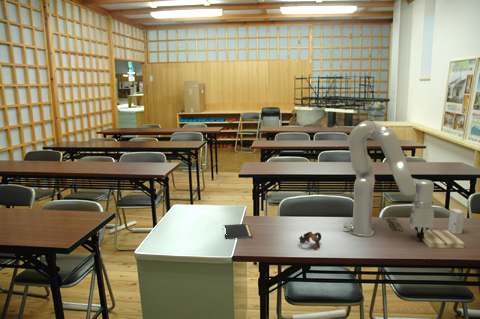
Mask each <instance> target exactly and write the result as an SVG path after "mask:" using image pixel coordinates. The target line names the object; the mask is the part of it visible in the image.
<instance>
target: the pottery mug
mask: <svg viewBox="0 0 480 319" xmlns="http://www.w3.org/2000/svg"><path fill="white" fill-rule="evenodd" d="M298 239H299V244H303V245H304V244H305V243H311V240H312V241H313V242H314V243H315V245H313V249H314V250H315V251H317V250H319V249H320V248H321V246H320V241H321V239H322V234H321V232H319V231H318V232H315V233H313V232H312V231H308V232H306V233H304V234H303V235H300V236H299V238H298ZM310 239H311V240H310Z"/></svg>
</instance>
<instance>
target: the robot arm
mask: <svg viewBox="0 0 480 319" xmlns="http://www.w3.org/2000/svg"><path fill="white" fill-rule="evenodd" d="M367 139H372V140H373V141H376V142H378V143H379V146H380V148H381V151H382V152H383V154H384V157H385V159H386V161H387V164H388V167H389V169H390V171H391V174H392V176H393V178H394V181H395V183H396V185H397V187H398V191H399V192H400V193H401V195H403V197H404V196H405V197H413V196H414V195H415V196H414V197H415V199H414V201H412V203H411V204H412V209H411V212H410V218H409V223H410V225H409V228H411V229H413V230H416V231H417V234H416V233H415V237H416V238H417V240H419V241H423V238H424V233H425V231H426V230H432V229H433V227H434V225H435V212H434V208H433V207H432V206H433V198H434V187H435V185H434V184H435V183H434V182H433V181H432V180H429V179H419V178H418V179H417V178H414V177H412V174H411V171H410V170H409V167H408V161H407V158H406V155H405V153H404V151H403V149H402V147H401V144H400V142H399V140H398V138H397V133H396V132H395V131H394V130H393V129H392V128H388V127H387V126H383V125H381V124H379V123H377V122H375V121H372V120H367V119H366V120H364V121H362V122H360V123H358V124H357V125H356V126H354V127H353V129H352V130H351V131H350V133H349V136H348V148H349V155H350V161H351V168H352V170H353V171H354V172H355V177H356V179H355V180H354V184H353V209H352V211H353V212H352V222H350V223H349V224H343V229H346V230H348V232H349V233H350V234H352V235H354V236H356V237H363V238H366V237H367V238H369V237H372V236H374V234H375V231H374V230H373V229H372V218H373V202H374V188H375V183H376V182H375V181H376V179H375V178H376V177H375V173H374V166H373V160H372V158H371V157H370V155H369V154H368V149H367V148H368V147H367V144H366V142H367Z"/></svg>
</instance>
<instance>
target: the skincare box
mask: <svg viewBox="0 0 480 319" xmlns="http://www.w3.org/2000/svg"><path fill="white" fill-rule="evenodd" d="M465 213H466V212H464V211H463V210H460V209H458V208H450V211H449V218H448V224H447V230H448V231H449V232H450V233H452V234H453V235H460V234H462V233H463V226H464V221H465Z"/></svg>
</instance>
